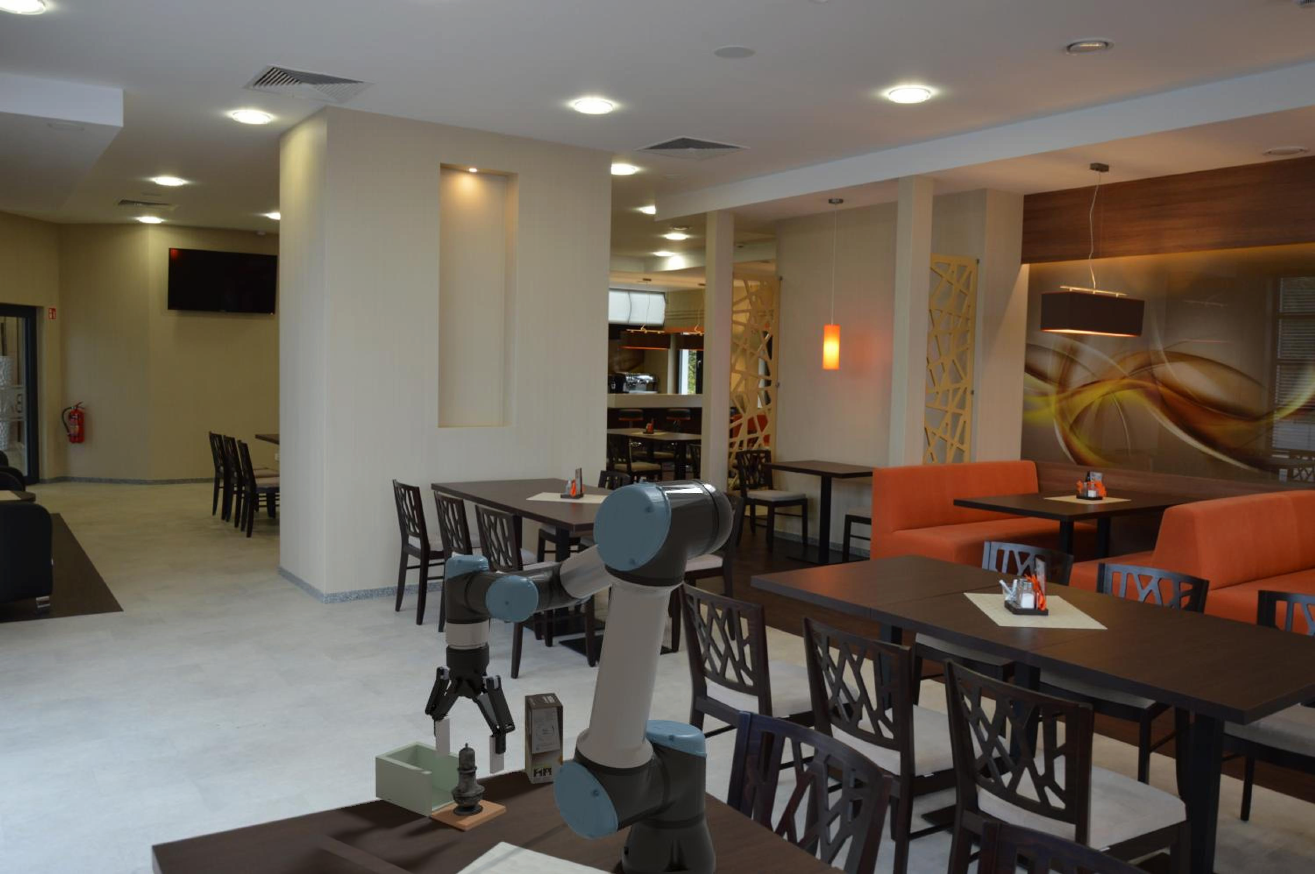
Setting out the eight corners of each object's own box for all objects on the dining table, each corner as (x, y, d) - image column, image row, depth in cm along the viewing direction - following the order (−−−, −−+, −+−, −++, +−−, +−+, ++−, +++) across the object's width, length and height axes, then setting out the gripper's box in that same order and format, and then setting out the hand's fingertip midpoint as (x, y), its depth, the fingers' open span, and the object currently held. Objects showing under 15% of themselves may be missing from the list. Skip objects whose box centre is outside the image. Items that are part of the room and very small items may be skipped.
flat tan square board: (470, 801, 183) (506, 812, 177) (430, 819, 175) (466, 831, 169) (470, 796, 182) (505, 806, 177) (430, 813, 175) (466, 825, 169)
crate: (468, 805, 183) (468, 757, 183) (426, 824, 175) (426, 774, 175) (417, 787, 191) (417, 741, 191) (375, 804, 183) (375, 756, 183)
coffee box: (564, 787, 192) (564, 705, 191) (531, 791, 190) (531, 708, 189) (554, 770, 201) (554, 691, 200) (523, 773, 199) (523, 694, 198)
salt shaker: (476, 817, 172) (475, 748, 172) (445, 815, 174) (443, 747, 174) (490, 804, 178) (488, 738, 178) (459, 802, 180) (458, 736, 179)
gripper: (534, 649, 170) (536, 771, 171) (435, 630, 185) (437, 743, 186) (503, 658, 164) (505, 785, 165) (403, 638, 179) (405, 755, 180)
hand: (469, 763), depth 175 cm, fingers open, 13 cm apart
